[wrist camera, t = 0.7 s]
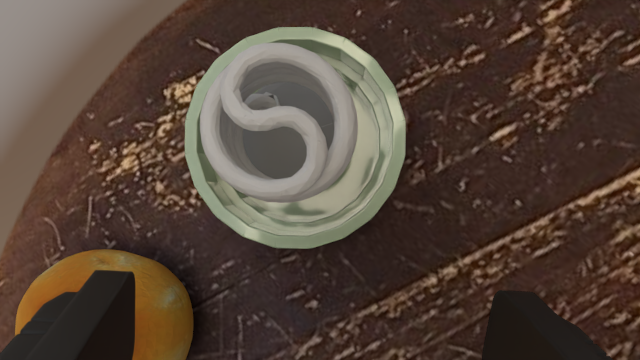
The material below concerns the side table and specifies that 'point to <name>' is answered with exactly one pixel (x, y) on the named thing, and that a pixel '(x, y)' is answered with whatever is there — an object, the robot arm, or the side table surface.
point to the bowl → (353, 184)
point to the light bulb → (279, 123)
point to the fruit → (150, 299)
